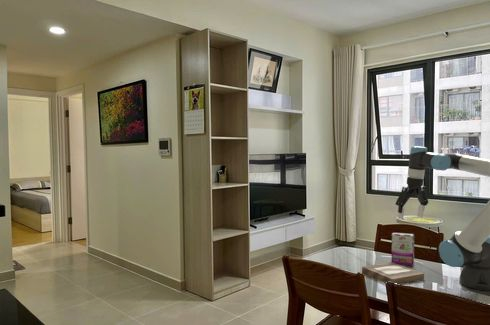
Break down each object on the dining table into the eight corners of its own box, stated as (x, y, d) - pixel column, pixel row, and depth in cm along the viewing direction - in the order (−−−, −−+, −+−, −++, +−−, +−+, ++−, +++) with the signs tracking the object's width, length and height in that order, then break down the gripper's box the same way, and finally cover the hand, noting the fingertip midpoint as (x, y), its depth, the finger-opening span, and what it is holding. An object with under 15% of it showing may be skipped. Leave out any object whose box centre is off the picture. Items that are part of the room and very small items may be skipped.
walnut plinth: (424, 279, 174) (424, 273, 174) (392, 285, 166) (392, 278, 166) (391, 267, 192) (391, 261, 192) (362, 272, 184) (362, 266, 184)
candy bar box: (414, 263, 199) (414, 233, 199) (413, 266, 195) (413, 235, 194) (392, 261, 204) (392, 231, 204) (391, 263, 200) (391, 233, 200)
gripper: (426, 175, 191) (421, 214, 194) (391, 176, 181) (386, 217, 184) (439, 177, 184) (433, 218, 188) (403, 179, 174) (397, 222, 177)
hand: (410, 218), depth 186 cm, fingers open, 13 cm apart
